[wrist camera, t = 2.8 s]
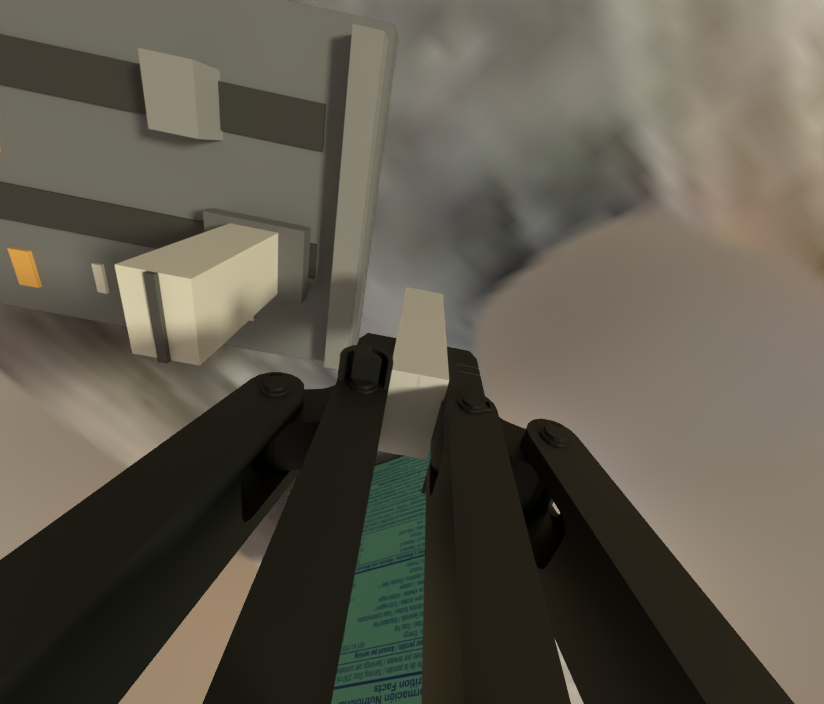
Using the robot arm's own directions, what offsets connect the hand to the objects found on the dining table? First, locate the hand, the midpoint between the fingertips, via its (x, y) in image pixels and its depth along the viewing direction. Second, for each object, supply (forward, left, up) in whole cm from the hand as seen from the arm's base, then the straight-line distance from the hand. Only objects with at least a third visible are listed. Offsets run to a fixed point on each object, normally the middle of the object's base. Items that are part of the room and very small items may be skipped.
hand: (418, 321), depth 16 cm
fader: (0, -8, -5) cm, 9 cm away
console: (-2, -15, -6) cm, 16 cm away
